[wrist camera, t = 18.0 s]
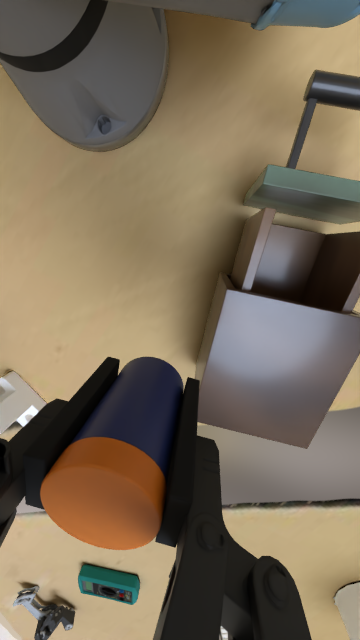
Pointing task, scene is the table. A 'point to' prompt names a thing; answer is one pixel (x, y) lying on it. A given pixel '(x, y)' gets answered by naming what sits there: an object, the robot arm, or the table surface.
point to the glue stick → (119, 461)
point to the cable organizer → (17, 401)
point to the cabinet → (272, 364)
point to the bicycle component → (45, 614)
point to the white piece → (350, 609)
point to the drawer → (310, 202)
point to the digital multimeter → (109, 584)
